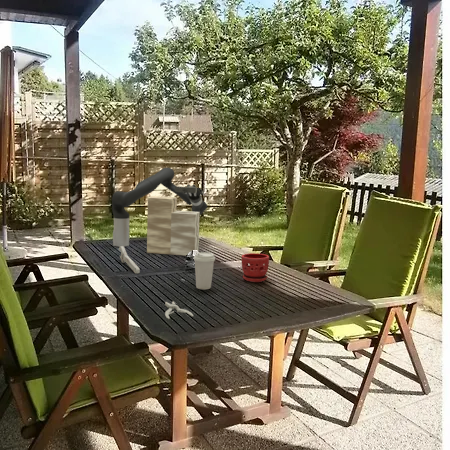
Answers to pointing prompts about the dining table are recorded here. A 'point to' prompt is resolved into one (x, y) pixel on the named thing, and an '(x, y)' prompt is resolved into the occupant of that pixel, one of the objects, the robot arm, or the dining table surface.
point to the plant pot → (255, 267)
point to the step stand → (171, 227)
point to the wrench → (128, 260)
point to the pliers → (174, 306)
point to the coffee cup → (204, 269)
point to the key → (186, 189)
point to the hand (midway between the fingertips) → (190, 185)
